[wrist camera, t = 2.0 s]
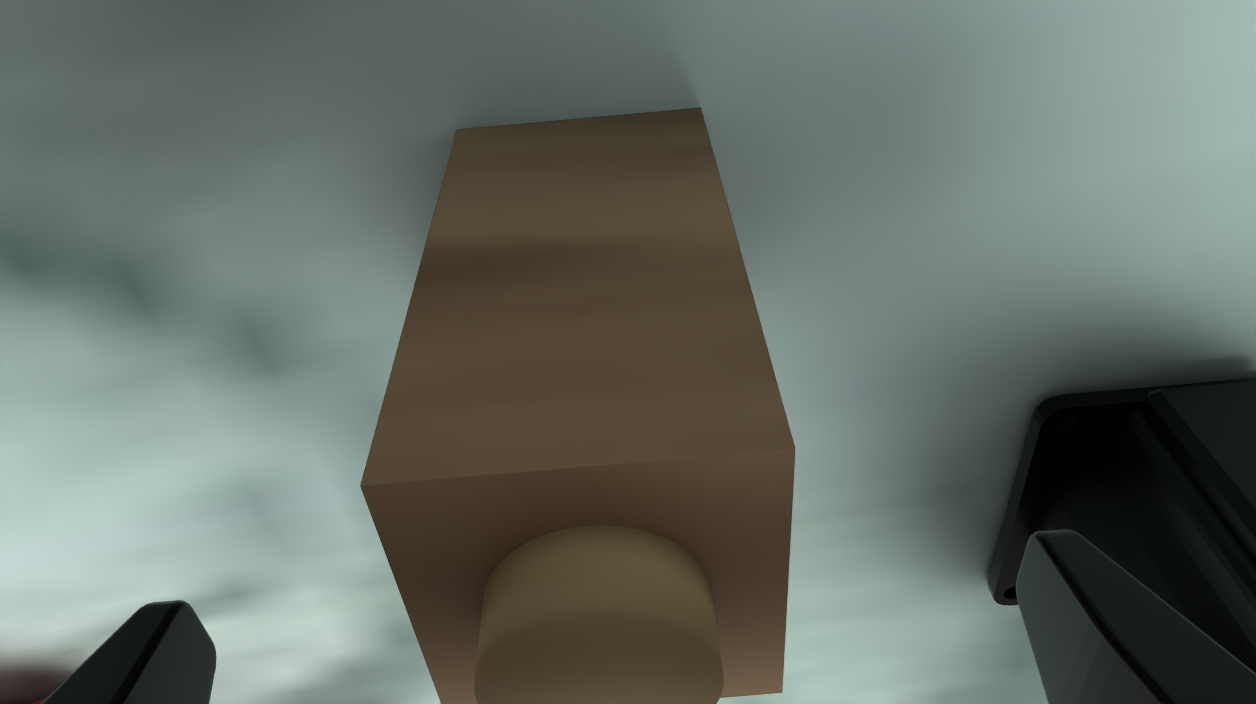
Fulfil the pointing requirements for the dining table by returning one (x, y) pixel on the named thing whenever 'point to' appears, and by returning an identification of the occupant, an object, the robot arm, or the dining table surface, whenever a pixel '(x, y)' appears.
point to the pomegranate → (38, 703)
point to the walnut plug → (586, 427)
